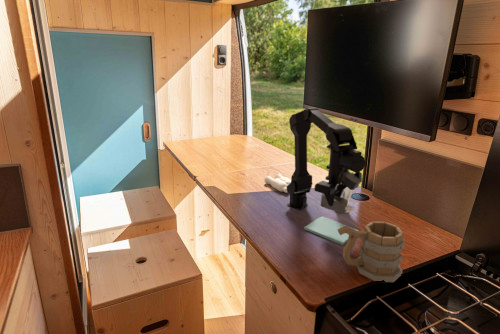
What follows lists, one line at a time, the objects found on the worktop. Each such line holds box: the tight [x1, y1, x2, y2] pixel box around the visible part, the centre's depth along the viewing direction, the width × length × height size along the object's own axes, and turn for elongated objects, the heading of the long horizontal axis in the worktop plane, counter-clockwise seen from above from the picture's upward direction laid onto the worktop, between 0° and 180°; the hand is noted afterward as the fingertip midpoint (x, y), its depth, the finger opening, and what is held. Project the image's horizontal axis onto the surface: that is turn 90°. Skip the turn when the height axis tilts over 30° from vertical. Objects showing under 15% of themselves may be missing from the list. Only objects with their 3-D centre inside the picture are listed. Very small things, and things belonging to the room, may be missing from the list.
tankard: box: [338, 221, 406, 283], centre depth 105 cm, size 20×13×15 cm, turn 88°
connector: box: [320, 193, 355, 214], centre depth 125 cm, size 12×4×4 cm, turn 47°
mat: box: [303, 215, 360, 246], centre depth 129 cm, size 16×12×1 cm
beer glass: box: [336, 187, 353, 214], centre depth 143 cm, size 7×7×15 cm
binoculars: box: [264, 173, 291, 194], centre depth 168 cm, size 10×16×5 cm, turn 30°
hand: (333, 204), depth 126 cm, fingers closed on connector, 4 cm apart
